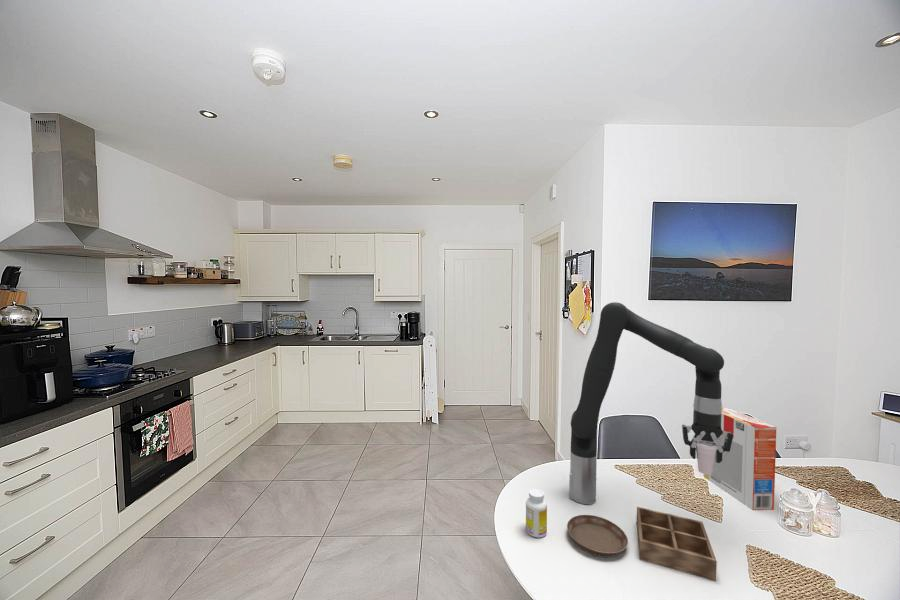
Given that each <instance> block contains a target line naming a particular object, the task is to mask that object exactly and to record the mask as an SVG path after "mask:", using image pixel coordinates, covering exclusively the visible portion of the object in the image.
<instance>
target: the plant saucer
mask: <svg viewBox="0 0 900 600" xmlns="http://www.w3.org/2000/svg"><path fill="white" fill-rule="evenodd" d="M566 529H567V532H568V534H569V536H570V538H571V539H572V541H573V542H574V543H575V544H576V545H577V546H578V547H579V548H581V549H582V550H584V552H586V553H589V554H591V555H594V556H597V557H601V558H603V557H604V558H612V557H614V556H615V557H616V556H618V555H619V554H621V553H622V552H624V550H625V549H627V547H628V545H629V539H628V536H627V535H626V533H625V531H624V530H623V529H622V528H621V527H620V526H618V525H617V524H616V523H614V522H612V521H611V520H608V519H606V518H604V517H601V516H597V515H592V514H578V515H575V516H573V517H571V518H570V519H569V520H568V522H567V524H566Z"/></svg>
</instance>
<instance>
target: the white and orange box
mask: <svg viewBox="0 0 900 600" xmlns="http://www.w3.org/2000/svg"><path fill="white" fill-rule="evenodd" d="M721 429H722V431H726V432H727V431H730V432H731V433H732V435H733V440H732V444H731V449H730V451H729V452H727V451H725V452H723V454H722V462H720V463H717V462H716V455H715V460H714V466H713V471H712V474H710V475H709V474H704V473H703V475H704V476H703V477H704V479H706V480H707V481H709V482H710V483H712V484H713V485H715V486H717V487H718V488H719V489H721V490H722V491H723V492H725V493H727V494H728V495H729V496H731V497H733V498H734V499H735V500H737V501H738V502H739V503H741V504H742V505H744V506H746V507H747V508H748V509H750V510H751V511H771V510H772V511H774V510H775V491H776V490H775V487H776V485H775V484H776V458H777V457H776V456H777V455H776V453H777V450H776V449H777V426H774V425H772V424H769V423H767V422H765V421H762V420H760V419H757V418H755V417H752V416H750V415H746V414H744V413H741V412H739V411H736V410H734V409H731V408H729V407H727V406H723V405H722V416H721ZM718 441H719V443H720V445H721V446H724V442H725V437H724V435H723V434H722V435H721V436H720V437H719V438H718ZM713 442H714V441H713Z"/></svg>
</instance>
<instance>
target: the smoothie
mask: <svg viewBox="0 0 900 600" xmlns="http://www.w3.org/2000/svg"><path fill="white" fill-rule="evenodd" d="M717 447H718V446H716V445H715V443H714V442H709V441H702V440H700V442H699V443H697V445H696V447H695V448H696V461H697V469H698V472H699V473H701V474H703V475H704V474H709V475H710V474H712V471H713V466H714V460H715V455H716V450H717V449H718V448H717Z"/></svg>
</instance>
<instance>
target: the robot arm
mask: <svg viewBox="0 0 900 600" xmlns="http://www.w3.org/2000/svg"><path fill="white" fill-rule="evenodd" d="M599 317H600V318H599V325H598V329H597V334H596V338H595V341H594V342H593V346H592V348H591V351H590V353H589V356H588V358H587V362H586V366H585V368H584V373H583V378H582V384H581V391H580V398H579V401H578V405H577V407H576V409H575V410H574V412H573V413H572V414H571V420H570V427H571V429H570V430H571V433H570V434H571V435H570V464H569V465H570V468H569V469H570V470H569V481H568V482H569V488H568V489H569V490H568V495H569V497H568V498H569V500H573V501H574V502H576V503H578V504H582V505H592V504H595V503H596V501H597V464H598V463H597V459H598V458H597V455H598V453H597V451H598V423H599V417H600V410H601V408H602V403H603V402H604V399H605V396H606V394H607V392H608V390H609V385H610V383H611V381H612V377H613V374H614V370H615V366H616V361H617V355H618V354H617V352H618V347H619V342H620V340H621V337H622V334H623V331H626V332H627V331H628V332H631V333H632V334H635V335H637V336H638V337H641V338H642V339H644V340H646V341H648V342H649V343H651V344H653V345H654V346H657V347H658V348H659V349H662V350H663V351H665V352H667V353H670V354H672V355H674V356H676V357H678V358H679V359H680V358H681V359H683V360H684V361H687V362H688V363H690V364H692V365H693V366H695V369H694V370H695V385H694V386H695V387H694V399H693V406H692V407H693V413H692V414H693V417H692V419H693V420H692V424H691V425H686V424H682V425H681V430H682V439H683V443H684V444H685V445H686V446H689V455H690V457H691V458H692V459H693V460H695V459H697V453H696V445H697V443H699V442H700V440H702V441H709V442H713V441H714V443H715V445H716V446H718V447H717V448H718V449H717V450H716V462H717V463H720V462H722V454H723V452H725V451H727V452H729V451H730V449H731V444H732V440H733V435H732V433H731V432H730V431H727V432H726V431H722V429H721V416H722V407H723V405H722V404H723V403H722V390H723V389H722V382H721V379H720V377H721V376H720V374H721V373H720V372H721V370H722V369H723V368H724V366H725V359H724V358H723V355H722V354H720V353H719V352H718V351H717V350H715V349H713V348H710V347H706V346H704V345H702V344H698V343H697V342H694V341H693V340H691V339H690V338H688V337H687V336H684V335H683V334H680V333H678V332H676V331H673V330H671V329H670V328H666V327H663V326H662V325H659V324H658V323H654V322H652V321H650V320H648V319H645V318H644V317H642V316H640V315H639V314H636V313H635V312H634V311H632V310H631V309H629V308H628V307H627V306H626V305H624V304H623V303H621V302H618V301H617V302H616V301H615V302H613V301H612V302H609V303H606V304H605V305H604V306H603V307H602V308H601V312H600V315H599ZM691 431H692V432H693V433H694V435H693V437H692V438H691V440H689V433H691ZM722 434H723V435H724V437H725V442H724V446H721V445H720V443H719V441H718V438H719V437H720V436H721V435H722Z"/></svg>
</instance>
